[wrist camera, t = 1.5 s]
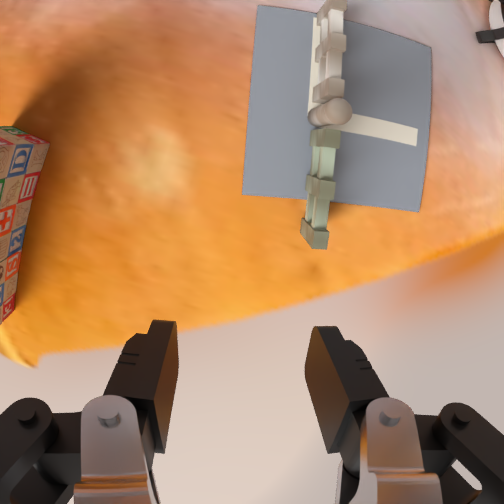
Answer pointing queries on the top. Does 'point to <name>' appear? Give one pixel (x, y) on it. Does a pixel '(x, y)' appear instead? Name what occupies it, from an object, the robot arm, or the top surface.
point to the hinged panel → (320, 186)
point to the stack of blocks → (15, 203)
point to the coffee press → (494, 26)
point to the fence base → (330, 68)
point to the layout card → (352, 133)
